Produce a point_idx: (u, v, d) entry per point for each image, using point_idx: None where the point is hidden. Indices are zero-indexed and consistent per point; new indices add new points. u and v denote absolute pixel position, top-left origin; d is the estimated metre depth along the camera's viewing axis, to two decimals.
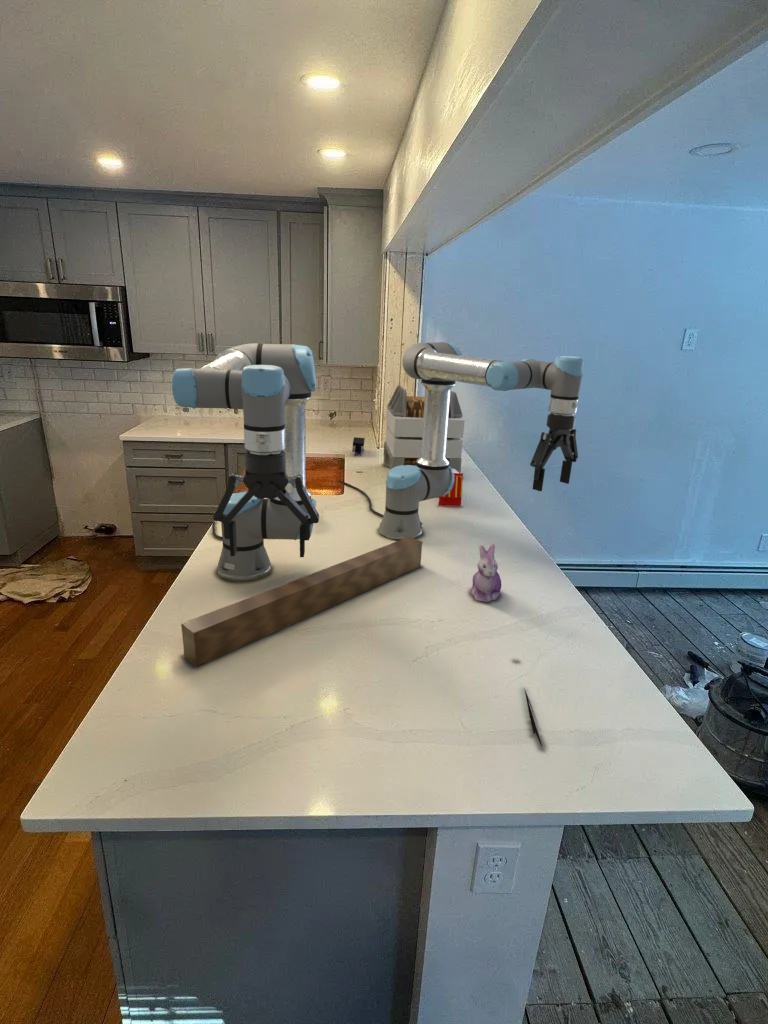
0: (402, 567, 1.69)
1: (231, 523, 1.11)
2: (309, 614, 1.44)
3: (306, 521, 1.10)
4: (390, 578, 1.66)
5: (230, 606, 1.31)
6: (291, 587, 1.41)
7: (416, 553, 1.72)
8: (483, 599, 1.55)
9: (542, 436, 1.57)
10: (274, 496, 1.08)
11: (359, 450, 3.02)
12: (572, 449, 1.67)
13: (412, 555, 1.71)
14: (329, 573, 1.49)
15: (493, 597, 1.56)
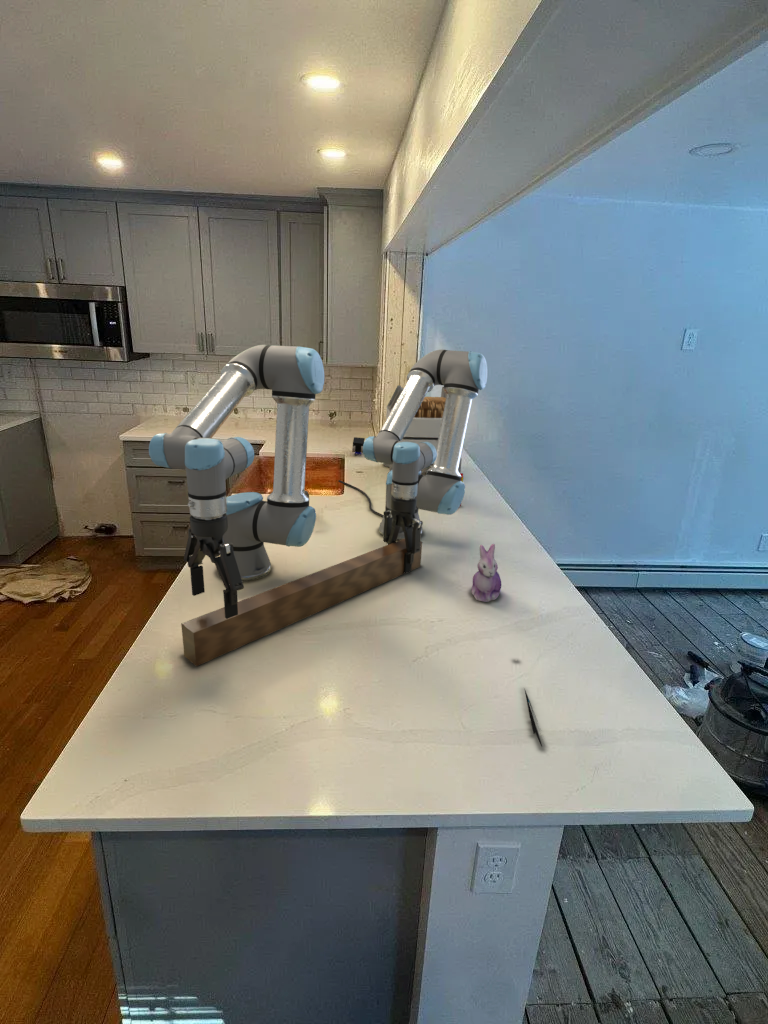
0: (402, 567, 1.69)
1: (194, 567, 1.27)
2: (309, 614, 1.44)
3: (227, 587, 1.17)
4: (390, 578, 1.66)
5: None
6: (291, 587, 1.41)
7: (416, 553, 1.72)
8: (483, 599, 1.55)
9: None
10: None
11: (359, 450, 3.02)
12: None
13: None
14: (329, 573, 1.49)
15: (493, 597, 1.56)
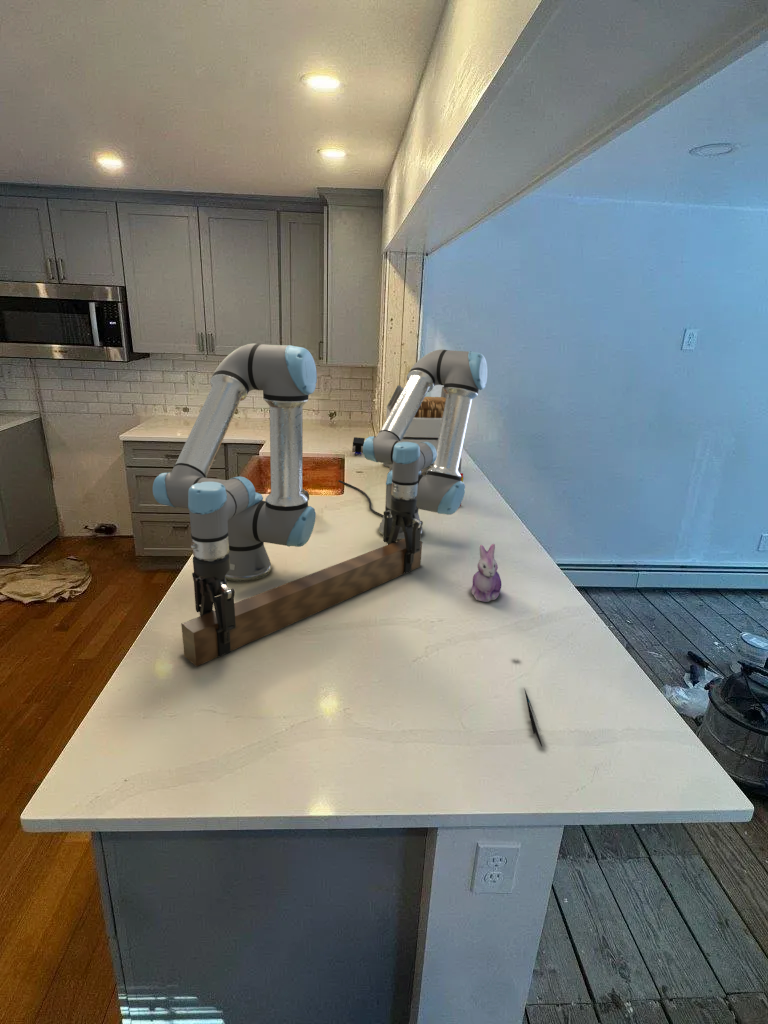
0: (402, 567, 1.69)
1: None
2: (309, 614, 1.44)
3: (220, 628, 1.23)
4: (390, 578, 1.66)
5: None
6: (291, 587, 1.41)
7: (416, 553, 1.72)
8: (483, 599, 1.55)
9: None
10: None
11: (359, 450, 3.02)
12: None
13: None
14: (329, 573, 1.49)
15: (493, 597, 1.56)
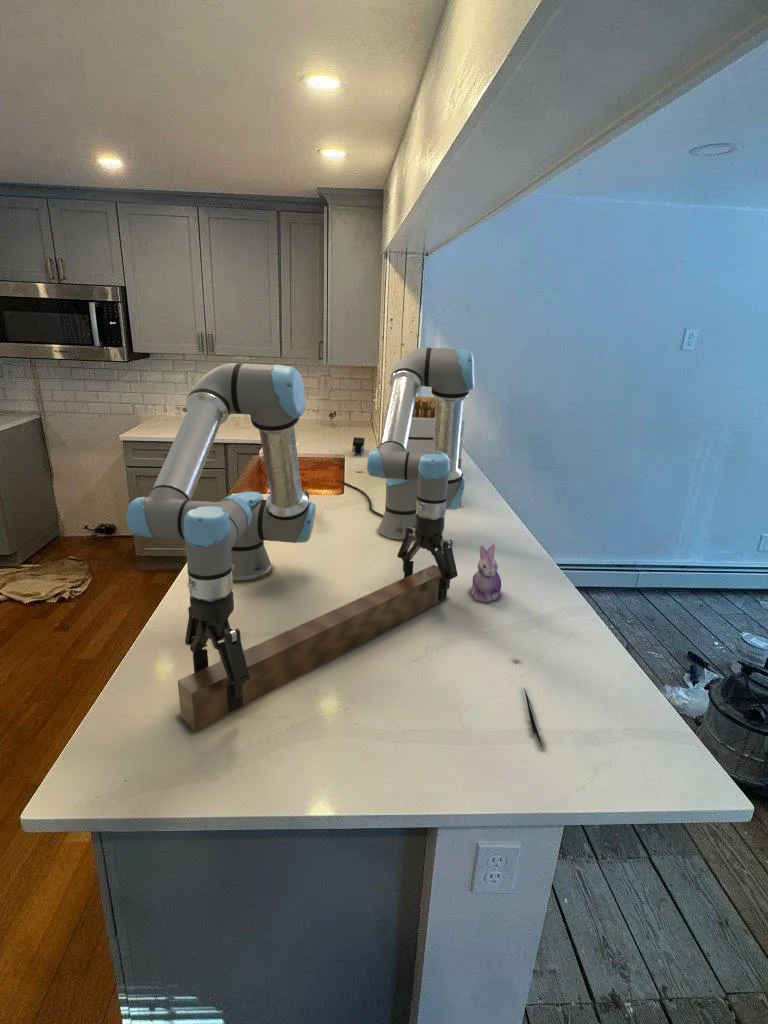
0: (427, 601, 1.50)
1: (198, 652, 1.11)
2: (325, 660, 1.26)
3: (230, 679, 1.01)
4: (414, 613, 1.47)
5: None
6: (304, 630, 1.22)
7: None
8: (483, 599, 1.55)
9: None
10: None
11: (359, 450, 3.02)
12: None
13: (437, 587, 1.52)
14: (347, 612, 1.31)
15: (493, 597, 1.56)
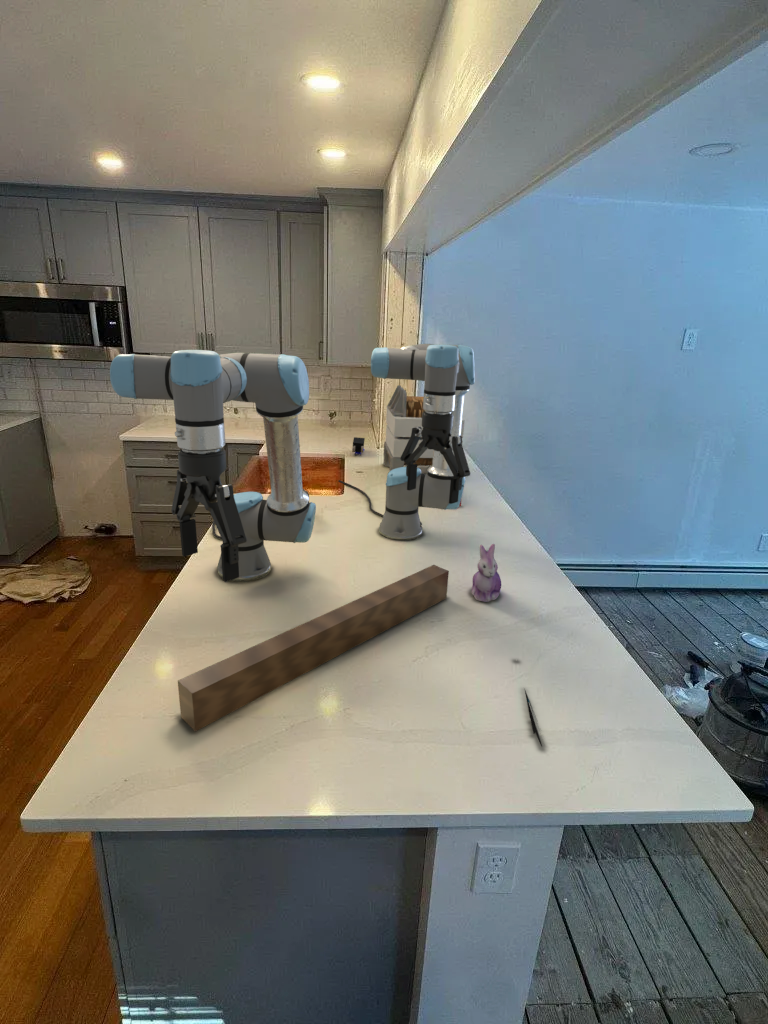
0: (427, 601, 1.50)
1: (185, 521, 1.02)
2: (325, 660, 1.26)
3: (225, 540, 0.92)
4: (414, 613, 1.47)
5: (235, 656, 1.12)
6: (304, 630, 1.22)
7: (443, 584, 1.53)
8: (483, 599, 1.55)
9: None
10: None
11: (359, 450, 3.02)
12: None
13: (437, 587, 1.52)
14: (347, 612, 1.31)
15: (493, 597, 1.56)
